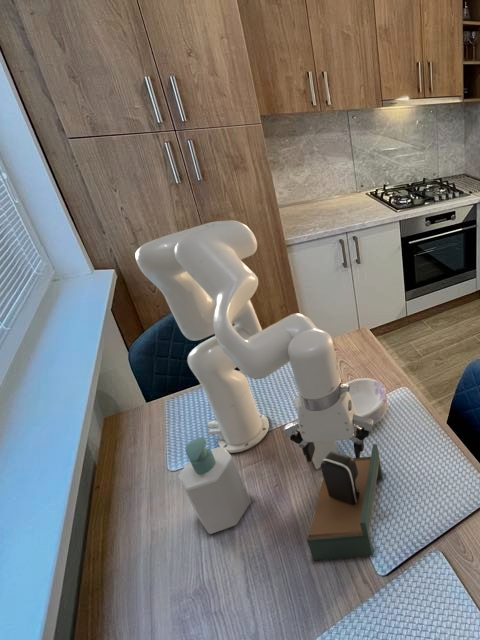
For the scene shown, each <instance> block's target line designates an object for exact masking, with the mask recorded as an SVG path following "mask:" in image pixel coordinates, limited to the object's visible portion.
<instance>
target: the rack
mask: <svg viewBox="0 0 480 640" xmlns="http://www.w3.org/2000/svg"><path fill="white" fill-rule="evenodd" d="M379 452H380V451H379V447H378V443H374V444H372V447H371V453H370V456H360V458H356V457H352V458H353V459H354V460H355V462H356V466H357V470H358V476H357V478H356V479H355V484H356V489H357V490H359V492H360V495H359V498H358V500H357V502H356V503H355V504H354V505H351V504H348V503H345V502H342V501H340V500H337V499H335V498H332V497H330V496H329V494H328V490H327V487H326V484H325V481H324V478H322V483H321V487H320V490H319V494H318V498H317V501H316V505H315V509H314V511H313V516H312V520H311V524H310V527H309V531H308V533H307V534H308V535H307V538H306V542H307V545H308V548H309V551H310V554H311V556H312V560H313V561H323V560H334V559H345V558H355V557H367V556H373V554H374V547H373V543H372V539H371V534H370V531H371V522H372V517H373V509H374V503H375V494H376V489H377V481H378V480H382V479H383V476H384V475H383V468H382V463H381V458H380V453H379Z"/></svg>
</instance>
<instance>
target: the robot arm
mask: <svg viewBox="0 0 480 640" xmlns="http://www.w3.org/2000/svg"><path fill="white" fill-rule="evenodd" d="M257 248H258V241H257V238H256V236H255V234H254V232H253V231H252V230H251V229H250V228H249V227H248V226H247V225H246V224H244V223H242V222H241V221H239V220H234V219H233V220H232V219H231V220H230V219H229V220H217V221H211V222H207V223H203V224H200V225H197V226H193V227H190V228H187V229H185V230H179V231H177V232H173V233H170V234H167V235H163V236H161V237H158V238H155V239H153V240H150V241H148V242H146V243H143V244H142V245H141V246H139V247H138V248H137V250H136V251H135V262H136V264H137V267H138V269H140V271H141V272H142V274H143V275H144V277H146V278H147V279H148V280H149V281H150V282H151V283H152V284H153V285H154V286H155V287H157V289H158V290H159V291H160V292H161V293H162V295H163V297H164V299H165V301H166V304H167V305H168V307H169V310H170V312H171V314H172V316H173V318H174V320H175V322H176V324H177V327H178V328H179V330H180V332H181V333H182V335H183V336H184V337H185V338H186V339H188V341H195V342H196V341H200V340H204V339H206V340H204V341H202V342H201V343H199V344H198V345H197V346H195V347H194V348H193V349H191V351H190V352H189V353H188V355H187V359H186V361H187V365H188V367H189V369H190V371H191V373H193V375H194V377H195V378H196V379H197V380H198V382H199V384H200V386H201V387H202V389H203V391H204V394H205V396H206V398H207V400H208V404H209V406H210V408H211V410H212V413H213V415H214V417H215V420H210V421H209V422H208V424H207V428H208V431H207V432H208V435H209V436H212V435H217V436H218V439H217V442H218V443H217V444H218V447H220V446H223V447H224V448H225V449H226V450H227V452H228V453H229V454H233V453H240V452H243V451H246V450H250V449H251V448H253V447H254V446H256V445H257V444H259V443H260V442H261V441H262V440H263V439H264V438H265V436H266V435H267V433H268V432H269V428H270V422H269V419H268V417H267V416H266V415H265V414H262V413H260V412H259V409H258V407H257V403H256V401H255V398H254V395H253V392H252V389H251V387H250V384H249V381H248V378H250V379H252V380H262V379H265V378H267V377H269V376H270V375H272V374H273V373H275V372H277V371H279V370H280V369H281V368H283V367H285V366H286V365H287V364H288V363H290V366H291V369H292V374H293V377H294V382H295V386H296V389H297V393H298V395H299V399H298V414H297V419H295V420H293V421H291V422H288V423H287V424H285V426H284V427H283V430H282V432H283V433H284V434H285V436H287V437H288V438H289V440H290V441H292V442H294V443H295V444H297V446H298V448H300V449H302V452H303V456H305V459H306V462H307V463H309V462H312V457H313V454H314V451H315V446H314V442H324V441H336V442H337V441H338V442H339V441H347V440H350V441H351V442H353V451H354V456H355V457H354V458H360V457H361V453H362V452H364V450H365V449H364V448H365V443H364V440H365V439H366V438H368V436H369V435H370V432H371V431H372V429H373V427H374V425H373V423H374V421H373V420H371V419H368V418H365V417H361V416H358V415H356V411H355V407H354V404H353V401H352V399H351V397H350V394H349V385H345V383H344V382H343V380H342V378H341V376H340V375H341V374H340V371H339V365H338V361H337V356H336V350H335V345H334V341H333V337H332V336H331V334H329V333H328V332H327V331H325V330H323V329H319V328H318V326H316V325H315V324H314V322H313V321H312V319H310V318H309V317H308V316H306V315H304V314H303V313H299V312H298V313H297V312H296V313H291V314H289V315H287V316H286V317H283V318H282V319H280V320H278V321H276V322H275V323H272V324H271V325H269V326H267V327H266V328H262V326H261V324H260V323H261V322H260V321H259V318H258V315H257V313H256V310H255V307H254V305H253V303H252V300H251V298H253V296H254V294H255V293H256V291H257V289H258V286H259V277H258V276H257V275H256V273H255V272H254V271H253V270H251V268H249V266H248V265H247V264H245V262H243V260H244V259H246V258H249V257H251V256H253V255H254V254H255V253H256V252H257ZM210 336H212V337H210ZM208 337H210V338H208ZM207 338H208V339H207ZM237 368H238V370H236V369H237ZM247 377H248V378H247ZM357 425H358V426H362V427H363V428H362V429H361V428H360V427H358V426H357Z"/></svg>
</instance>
